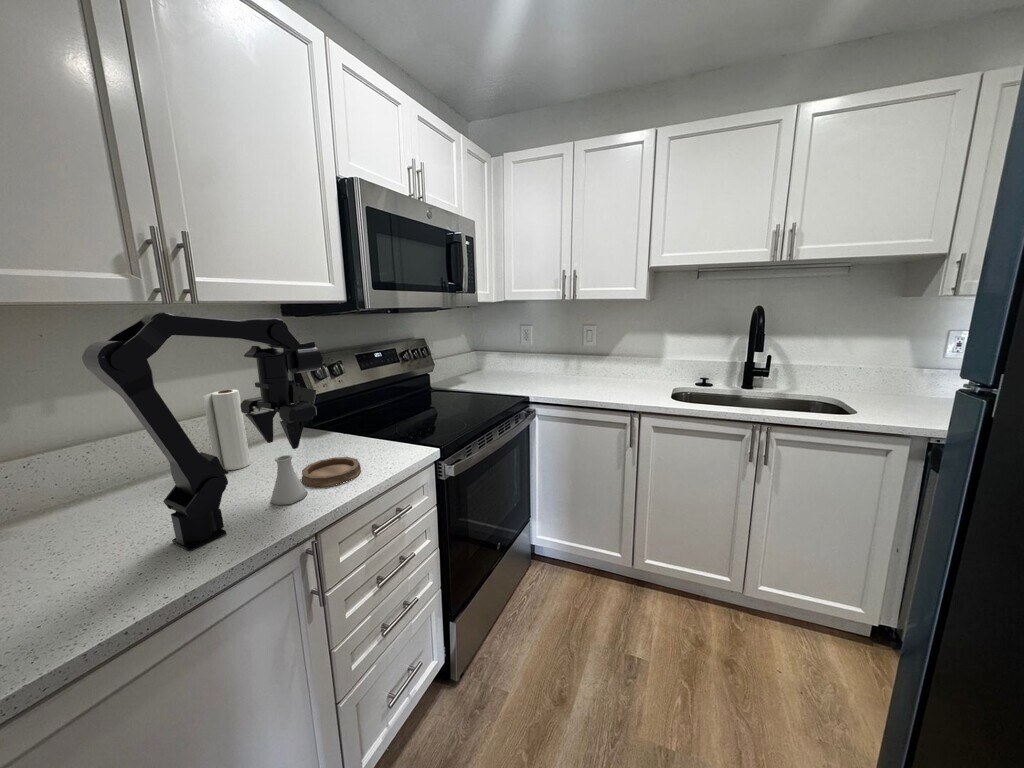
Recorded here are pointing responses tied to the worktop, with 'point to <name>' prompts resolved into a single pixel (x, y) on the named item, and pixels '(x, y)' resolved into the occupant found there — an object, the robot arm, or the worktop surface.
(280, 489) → the flask
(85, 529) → the worktop surface
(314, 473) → the walnut collar
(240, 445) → the paper towel roll
